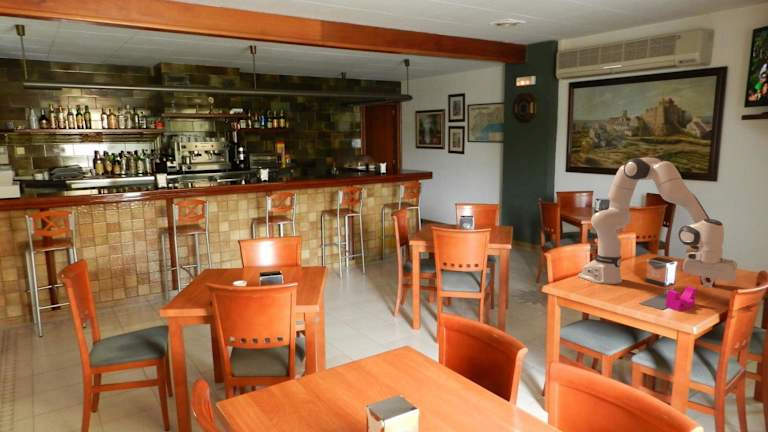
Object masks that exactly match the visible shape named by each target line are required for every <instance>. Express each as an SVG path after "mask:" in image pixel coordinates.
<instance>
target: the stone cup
mask: <svg viewBox="0 0 768 432" xmlns="http://www.w3.org/2000/svg"><path fill="white" fill-rule="evenodd" d="M694 251H699V247H698V246H697V245H694V246H688V245H687V248H686V251H685V255H686V254H687V253H690V252H694ZM685 259H687V258H686V257H685ZM678 269H679V270H682V271H683V264H682V265H680V266H679V267H678Z"/></svg>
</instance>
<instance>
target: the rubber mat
mask: <svg viewBox="0 0 768 432" xmlns="http://www.w3.org/2000/svg"><path fill="white" fill-rule="evenodd" d="M666 299H667V293H666V292H663V293H660V294H657V295H655V296H652V297H650V298H648V299H646V300H644V301H642V302H640V303H639V304H638V305H641V304H642V306H646V307H648V308H649V307H650V308H654V309H657V310H661V311H664V310H666V309H667V308H669V307H666Z"/></svg>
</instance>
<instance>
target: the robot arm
mask: <svg viewBox="0 0 768 432" xmlns="http://www.w3.org/2000/svg"><path fill="white" fill-rule="evenodd" d="M647 180H652V181H653V182H654V185H655V186H656V189H657V191H658V193H659V195H660V196H661V199H663V200H664V201H666V202H668V203H672V204H674V205H678V206H680V207H682V208H683V209H685V210H686V211H687V213H688V214H689V216H690V217H691V219H692V220H693V223H691V224H687V225H683V226H681V227H680V229H679V231H678V234H677V235H678V239H679V242H681V243H682V244H683V246H684V245H685V246H687V247H688V246H694V245H697V246H698V247H699V251H694V252H690V253H687V254H686V253H685V259H684V261H683V264H682V265H683V270H682V272H683V273H684V274H688V275H692V276H698V277H700V276H701V280H702V282H703V285H702V286H703V288H710V289H711V288H713V286H712V284H713V282H714V281H715V282H716V280H720V281H724V282H729V283H731V282H734V281H735V280H736V279H737V269H738V263H737V262H736V261H734V260H733V259H728V258H723V254H724V253H723V251H724V249H723V243H724V240H725V228H724V225H723V224H724V223H722V222H721V221H720V220H717V219H712V218H710V217H709V215H708V214H707V212H706V210H705V208H704V207H703V206H702V204H701V202H700V201H699V199H698V198H697V196H696V195H695V194H694V193H693V192H692V191H691V190H690V189H689V188H688V187H687V185H686V182H685V181H684V180H683V178H682V176H681V174H680V172H679V170H678V169H677V168H676V166H675V165H674V164H673V163H672V162H671V161H664V160H663V159H661V158H658V157H648V156H647V157H634V158H630V159H629V160H627V161H626V162H625V163H624V164H623V165H621V166H620V167H619V169H618V170H617V171H616V174H615V175H614V178H613V181H612V183H611V186H610V189H609V191H608V194H607V198H608V200H609V207H608V209H602V210H599V211H596V212H595V213H594V214H592V216H591V219H590V223H591V226H592V227H593V229H594V230H595V232H596V234H597V239H598V244H597V245H598V246H597V253H595V254H594V255H593V258H594V259H593V260H592V261H590V262H588V263H586V264H585V265H583V268H582V271H581V272H580V273H577V274H578V275H577V277H578V278H581V279H584V280H587V281H590V282H593V283H595V284H599V285H600V284H606V285H607V284H609V285H615V284H621V283H622V282H623V279H622V276H621V275H622V274H621V264H622V255H621V252H622V251H621V249H622V240H621V239H620V238H619V236H618V233H617V230H619V229H623V228H625V227H626V226H628V225H630V224H631V221H632V214H631V212H630V207H631V205H630V204H631V201H632V197H633V195H634V193H635V189H636V187H637V184H638V183H639V181H647ZM686 258H687V259H686ZM706 277H708V278H710V280H712V281H711V282H710V283H708V282H706V280H705V278H706Z"/></svg>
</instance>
